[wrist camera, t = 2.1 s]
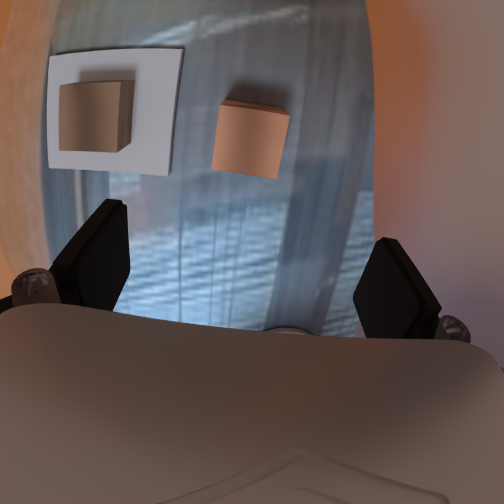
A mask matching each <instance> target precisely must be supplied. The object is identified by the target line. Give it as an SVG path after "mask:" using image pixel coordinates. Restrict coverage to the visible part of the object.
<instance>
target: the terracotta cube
mask: <svg viewBox="0 0 504 504" xmlns="http://www.w3.org/2000/svg"><path fill="white" fill-rule="evenodd" d="M289 119H290V115H289V114H288V113H287V112H286V111H285V110H284V109H283V108H278V107H273V106H267V105H261V104H255V103H248V102H242V101H234V100H227V99H225V100H224V101H223V102H222V103H221V104H220V109H219V116H218V123H217V130H216V137H215V144H214V152H213V160H212V168H211V170H218V171H225V172H233V173H240V174H246V175H253V176H260V177H266V178H272V179H277V177H278V172H279V167H280V162H281V158H282V153H283V148H284V143H285V139H286V134H287V129H288V124H289Z"/></svg>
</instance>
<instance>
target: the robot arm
mask: <svg viewBox="0 0 504 504" xmlns="http://www.w3.org/2000/svg"><path fill="white" fill-rule="evenodd" d="M129 273H130V254H129V239H128V219H127V206H126V205H125V204H123V203H122V201H121V200H115V199H106V200H105V201H104V202H103V203H102V204H101V205H100V206H99V207H98V208H97V209H96V211H95V212H94V213H93V214H92V215H91V216H90V217H89V219H88V220H87V221H86V222H85V223H84V224H83V226H82V227H81V228H80V229H79V230H78V232H77V233H76V234H75V235H74V236H73V238H72V239H71V240H70V241H69V243H68V244H67V245H66V246H65V248H64V249H63V250H62V251H61V253H60V254H59V255H58V256H57V258H56V259H55V260H54V262H53V265H52V266H51V267H50V269H49V270H46V269H43V268H33V269H29V270H27V271H24V272H22V273H21V274H20V275H18V276H17V277H16V278H15V280H14V281H13V283H12V286H11V293H12V295H10V296H8V297H5V298H3V299H0V504H504V370H503V368H502V367H501V366H500V365H499V364H498V362H497V361H496V359H495V358H494V356H493V355H491V354H490V353H489V352H487V351H486V350H484V349H482V348H480V347H478V346H475V345H473V344H470V342H471V335H470V332H469V330H468V328H467V327H466V326H465V324H464V323H463V322H462V321H460V320H459V319H457V318H456V317H454V316H450V315H444V316H442V317H441V318H440V319H439V317H438V314H439V312H440V311H441V309H442V307H441V306H440V304H439V303H438V301H437V299H436V297H435V296H434V294H433V293H432V291H431V289H430V288H429V286H428V285H427V283H426V282H425V280H424V278H423V277H422V276H421V274H420V272H419V271H418V270H417V268H416V266H415V265H414V263H413V262H412V261H411V259H410V258H409V256H408V255H407V253H406V252H405V250H404V249H403V248H402V246H401V245H400V243H399V242H398V241H397V240H396V239H391V238H386V237H383V238H381V239H380V240H378V241H377V242H376V243H375V246H374V248H373V251H372V253H371V255H370V258H369V260H368V262H367V265H366V267H365V269H364V272H363V274H362V276H361V278H360V281H359V283H358V285H357V287H356V289H355V292H354V294H353V302H354V305H355V308H356V311H357V313H358V316H359V319H360V322H361V324H362V327H363V330H364V333H365V336H366V338H352V337H331V336H314V335H311V334H310V333H308V332H306V331H304V330H301V329H296V328H276V329H271V330H268V331H264V332H262V331H251V330H241V329H232V328H223V327H214V326H206V325H198V324H190V323H182V322H175V321H168V320H161V319H154V318H148V317H142V316H136V315H130V314H124V313H119V312H113V309H114V307H115V305H116V302H117V300H118V298H119V296H120V293H121V291H122V289H123V287H124V285H125V283H126V280H127V278H128V276H129Z"/></svg>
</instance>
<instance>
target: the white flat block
mask: <svg viewBox="0 0 504 504" xmlns="http://www.w3.org/2000/svg"><path fill="white" fill-rule="evenodd" d="M183 52H184V50H183V49H115V50H100V51H89V52H79V53H71V54H64V55H57V56H51V57H50V61H49V73H48V91H47V142H48V161H49V168H61V169H82V170H98V171H112V172H125V173H137V174H148V175H158V176H169V175H170V169H171V155H172V143H173V132H174V122H175V112H176V104H177V95H178V87H179V80H180V72H181V65H182V59H183Z"/></svg>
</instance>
